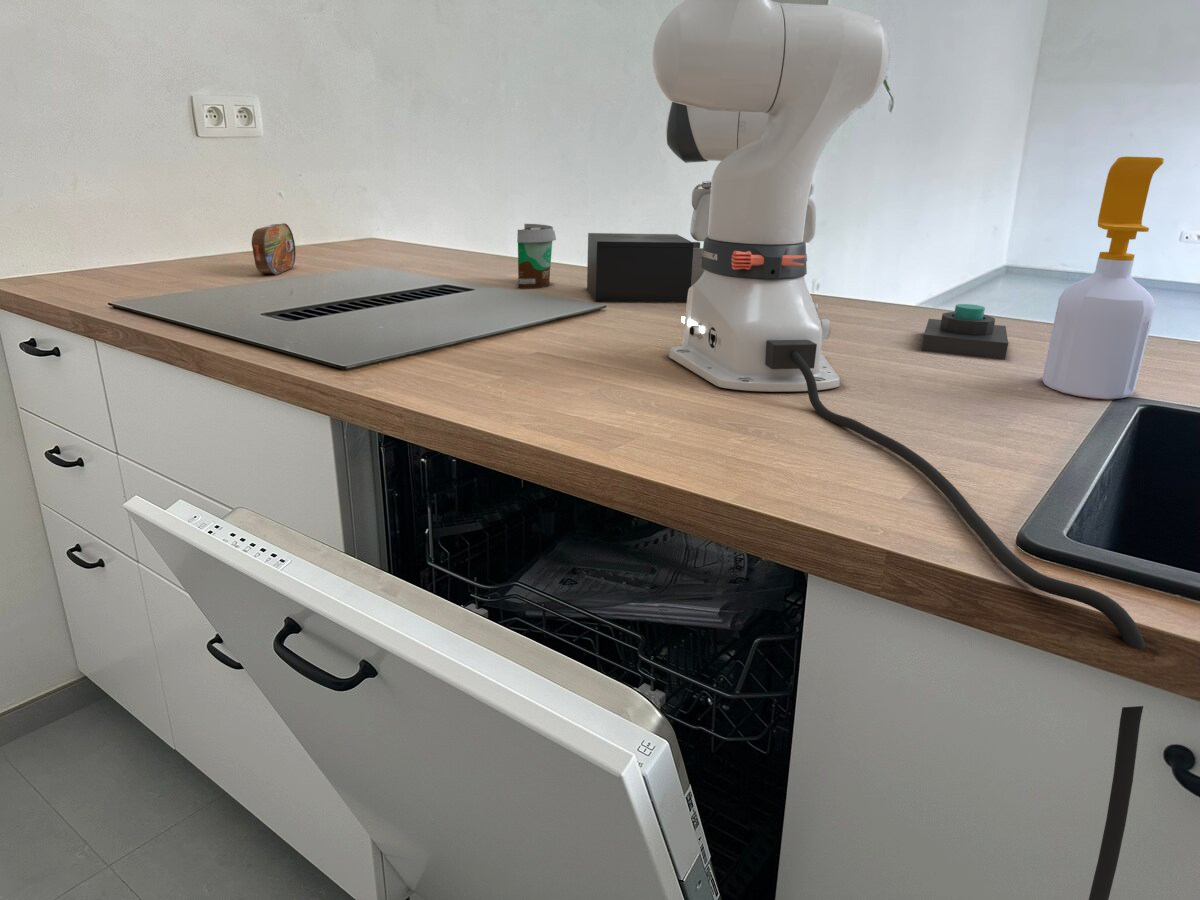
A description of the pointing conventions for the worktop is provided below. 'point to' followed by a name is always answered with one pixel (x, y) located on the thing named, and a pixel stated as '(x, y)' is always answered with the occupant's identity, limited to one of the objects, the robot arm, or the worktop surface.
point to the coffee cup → (534, 255)
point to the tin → (273, 249)
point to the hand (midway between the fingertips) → (749, 269)
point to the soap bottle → (1106, 300)
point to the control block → (966, 337)
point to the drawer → (696, 263)
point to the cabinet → (639, 267)
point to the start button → (969, 311)
